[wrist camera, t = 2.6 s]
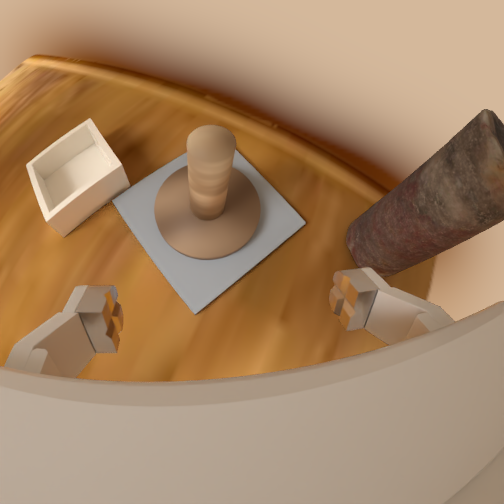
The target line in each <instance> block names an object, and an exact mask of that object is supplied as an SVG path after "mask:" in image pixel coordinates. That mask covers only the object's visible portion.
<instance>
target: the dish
mask: <svg viewBox="0 0 504 504" xmlns="http://www.w3.org/2000/svg"><path fill="white" fill-rule="evenodd" d="M26 167H27V170H28V173H29V177H30V180H31V183H32V186H33V189H34V192H35V194H36V197H37V200H38V203H39V205H40V208H41V210H42V213H43V215H44V218H45V220H46V222H47V223H48V224H49V225H50V226H51V227H52V228H53V229H55V230H56V231H57V232H58V233H59V234H60V235H61V236H63V237H65V236H66V235H67V234H69V233H70V232H71V231H72V230H73V229H75V228H76V227H77V226H78V225H80V224H81V223H82V222H83V221H85V220H86V219H87V218H88V217H90V216H91V215H92V214H94V213H95V212H96V211H97V210H99V209H100V208H101V207H103V206H104V205H105V204H107V203H108V202H110V201H111V200H112V199H114V198H115V197H116V196H118V195H119V194H121V193H122V192H124V191H125V190H126V189H128V188H129V187H131V186H130V183H129V181H128V179H127V176H126V173H125V171H124V168H123V166H122V164H121V162H120V161H119V160H118V158H117V157H116V155H115V154H114V152H113V151H112V150H111V148H110V147H109V145H108V144H107V142H106V141H105V139H104V138H103V136H102V135H101V133H100V132H99V130H98V129H97V128H96V126H95V124H94V123H93V121H92V120H91V118H89V119H88V120H86V121H85V122H83V123H82V124H80V125H78V126H77V127H75V128H74V129H72V130H71V131H70V132H68V133H67V134H65V135H64V136H62V137H61V138H60V139H58V140H57V141H55V142H54V143H53V144H51V145H50V146H49V147H47V148H46V149H45V150H44V151H42V152H41V153H40V154H38V155H37V156H36V157H35V158H34V159H32V160H31V161H30V162H29V163H28V164H26Z"/></svg>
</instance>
